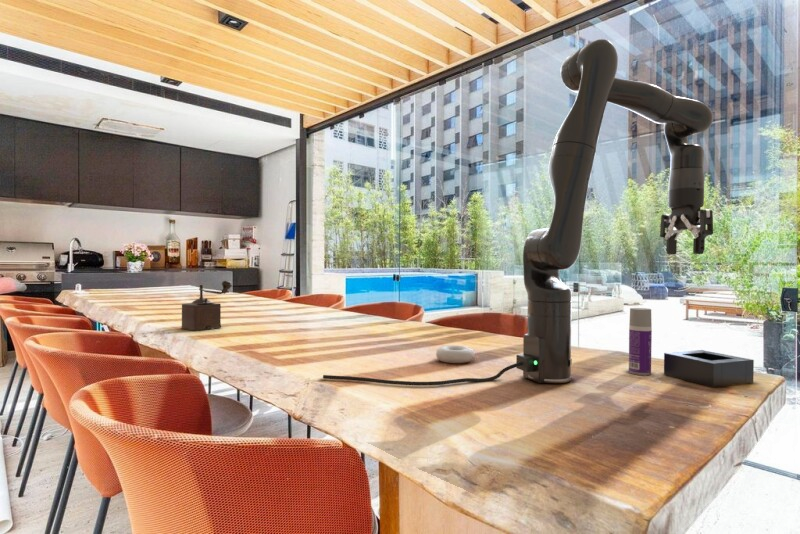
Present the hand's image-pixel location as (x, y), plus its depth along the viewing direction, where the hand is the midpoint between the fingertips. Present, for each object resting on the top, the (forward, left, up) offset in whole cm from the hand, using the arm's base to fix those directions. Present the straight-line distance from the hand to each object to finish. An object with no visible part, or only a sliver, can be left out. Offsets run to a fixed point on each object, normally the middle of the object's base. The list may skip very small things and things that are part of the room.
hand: (684, 254), depth 118 cm
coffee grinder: (-113, +109, -28) cm, 159 cm away
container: (-15, -1, -28) cm, 32 cm away
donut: (-50, +25, -28) cm, 63 cm away
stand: (-5, -10, -28) cm, 30 cm away
